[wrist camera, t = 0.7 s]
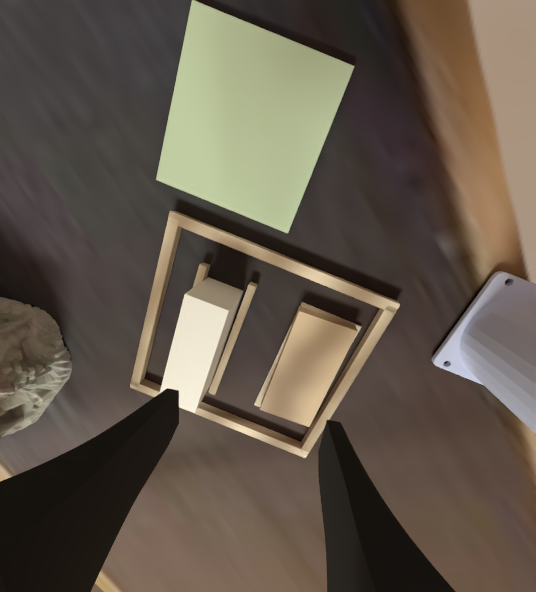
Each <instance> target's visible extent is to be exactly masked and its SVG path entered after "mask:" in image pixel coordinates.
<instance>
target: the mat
mask: <svg viewBox="0 0 536 592" xmlns="http://www.w3.org/2000/svg"><path fill="white" fill-rule="evenodd" d="M353 69H354V66H353V65H350V64H348V63H345V62H343V61H341V60H338V59H336V58H333V57H331V56H328V55H326V54H323V53H321V52H319V51H316V50H314V49H311V48H309V47H306V46H304V45H302V44H299V43H297V42H294V41H292V40H289V39H287V38H284V37H282V36H280V35H277V34H275V33H272V32H270V31H267V30H265V29H263V28H260V27H258V26H255V25H253V24H250V23H248V22H245V21H243V20H241V19H238V18H236V17H233V16H231V15H228V14H226V13H224V12H221V11H219V10H216V9H214V8H211V7H209V6H206V5H204V4H202V3H199V2H197V1H194V0H192V3H191V8H190V13H189V18H188V23H187V28H186V33H185V38H184V43H183V48H182V53H181V58H180V63H179V68H178V73H177V78H176V83H175V88H174V93H173V98H172V103H171V108H170V113H169V118H168V123H167V128H166V133H165V138H164V143H163V148H162V153H161V158H160V163H159V168H158V173H157V178H156V180H158V181H160V182H163V183H165V184H168V185H170V186H173V187H175V188H177V189H180V190H182V191H185V192H187V193H190V194H192V195H195V196H197V197H200V198H202V199H204V200H207V201H209V202H212V203H214V204H217V205H219V206H222V207H224V208H227V209H229V210H231V211H234V212H236V213H239V214H241V215H244V216H246V217H249V218H251V219H254V220H256V221H258V222H261V223H263V224H266V225H268V226H271V227H273V228H276V229H278V230H281V231H283V232H285V233H288V232H289V229H290V227H291V224H292V222H293V219H294V217H295V214H296V212H297V209H298V207H299V204H300V202H301V199H302V197H303V194H304V192H305V189H306V187H307V184H308V182H309V179H310V177H311V174H312V172H313V169H314V167H315V164H316V162H317V159H318V157H319V154H320V152H321V149H322V147H323V144H324V142H325V139H326V137H327V134H328V132H329V129H330V127H331V124H332V122H333V119H334V117H335V114H336V112H337V109H338V107H339V104H340V102H341V99H342V97H343V94H344V92H345V89H346V87H347V84H348V82H349V79H350V77H351V74H352V72H353Z"/></svg>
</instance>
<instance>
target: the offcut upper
mask: <svg viewBox="0 0 536 592" xmlns="http://www.w3.org/2000/svg"><path fill="white" fill-rule="evenodd" d="M357 332H358V331H357V329H356V326H355V325H352V324H349V323H346V322H343V321H340V320H338V319H335V318H332V317H329V316H326V315H323V314H320V313H317V312H315V311H312V310H309V309H306V308H303V307H300V306H299V308H298V310H297V313H296V316H295V318H294V321H293V323H292V326H291V328H290V331H289V333H288V336H287V338H286V341H285V343H284V346H283V348H282V351H281V354H280V356H279V359H278V361H277V364H276V366H275V369H274V371H273V374H272V376H271V379H270V381H269V384H268V386H267V389H266V391H265V394H264V397H263V399H262V402H261V406H260V410H262V411H265V412H268V413H271V414H274V415H276V416H279V417H282V418H285V419H288V420H291V421H293V422H296V423H299V424H302V425H305V426H307V427H310V425H311V423H312V421H313V419H314V417H315V415H316V413H317V411H318V409H319V407H320V405H321V403H322V401H323V399H324V397H325V395H326V393H327V391H328V389H329V387H330V385H331V383H332V381H333V379H334V377H335V375H336V373H337V371H338V369H339V368H340V366H341V364H342V362H343V360H344V358H345V356H346V354H347V352H348V350H349V348H350V346H351V344H352V342H353V340H354V338H355V336H356V334H357Z"/></svg>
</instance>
